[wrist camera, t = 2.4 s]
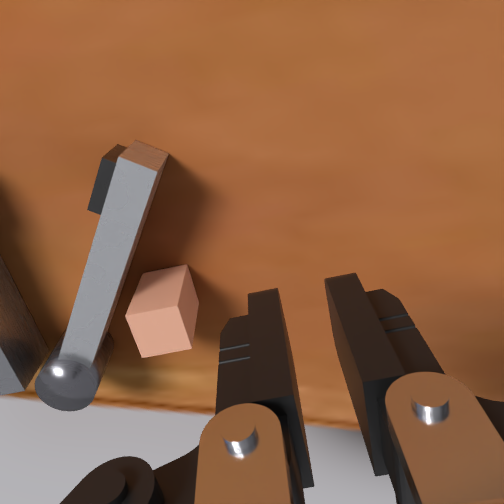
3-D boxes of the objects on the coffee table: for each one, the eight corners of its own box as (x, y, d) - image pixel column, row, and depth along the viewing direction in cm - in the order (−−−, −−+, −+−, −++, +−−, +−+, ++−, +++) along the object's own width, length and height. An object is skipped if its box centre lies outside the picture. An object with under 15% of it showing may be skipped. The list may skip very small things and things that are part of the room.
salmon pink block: (142, 273, 29) (125, 315, 25) (187, 264, 29) (177, 305, 25) (156, 310, 31) (142, 358, 26) (198, 302, 30) (191, 348, 26)
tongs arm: (121, 134, 25) (98, 152, 21) (181, 158, 26) (171, 181, 22) (56, 354, 32) (29, 401, 28) (106, 369, 33) (86, 417, 28)
